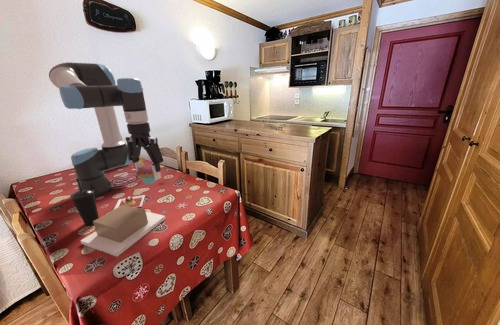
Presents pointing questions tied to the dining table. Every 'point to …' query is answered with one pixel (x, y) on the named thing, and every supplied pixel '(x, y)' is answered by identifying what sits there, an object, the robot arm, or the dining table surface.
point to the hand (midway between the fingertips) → (149, 177)
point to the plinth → (125, 243)
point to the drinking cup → (85, 204)
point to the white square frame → (130, 201)
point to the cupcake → (146, 173)
